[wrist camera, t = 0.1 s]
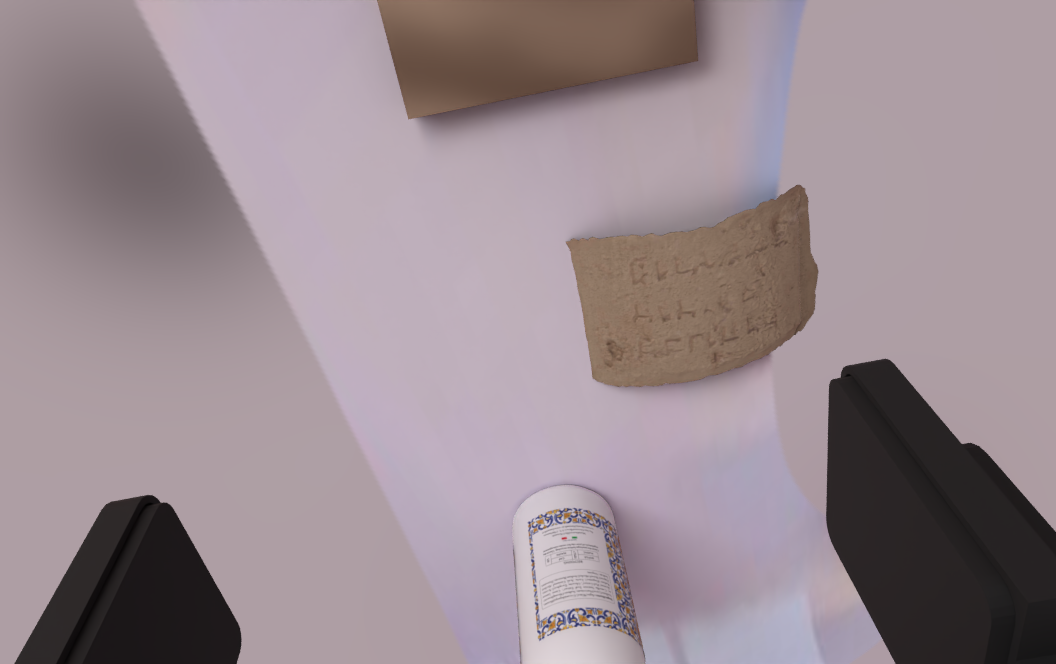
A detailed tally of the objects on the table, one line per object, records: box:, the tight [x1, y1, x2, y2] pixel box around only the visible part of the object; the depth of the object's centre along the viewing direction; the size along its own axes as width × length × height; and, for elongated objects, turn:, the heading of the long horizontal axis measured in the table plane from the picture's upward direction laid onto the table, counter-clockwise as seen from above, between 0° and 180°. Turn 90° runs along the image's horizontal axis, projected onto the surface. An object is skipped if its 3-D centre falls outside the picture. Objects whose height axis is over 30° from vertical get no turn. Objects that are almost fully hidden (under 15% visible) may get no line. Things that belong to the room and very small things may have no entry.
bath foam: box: [512, 485, 645, 664], centre depth 45 cm, size 7×7×20 cm
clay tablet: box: [566, 185, 818, 387], centre depth 45 cm, size 14×10×3 cm
